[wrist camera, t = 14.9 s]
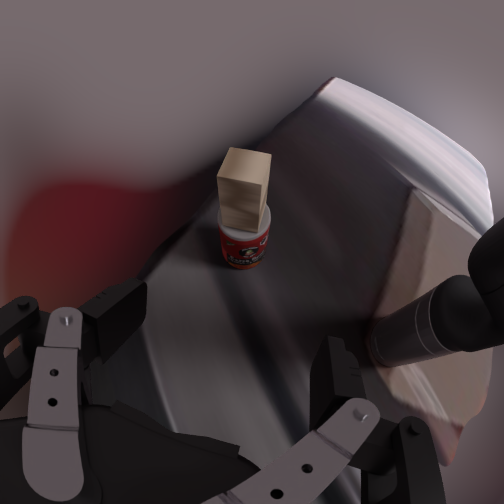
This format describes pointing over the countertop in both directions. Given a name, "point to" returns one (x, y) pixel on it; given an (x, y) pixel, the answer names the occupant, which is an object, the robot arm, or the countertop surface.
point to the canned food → (244, 242)
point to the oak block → (243, 188)
